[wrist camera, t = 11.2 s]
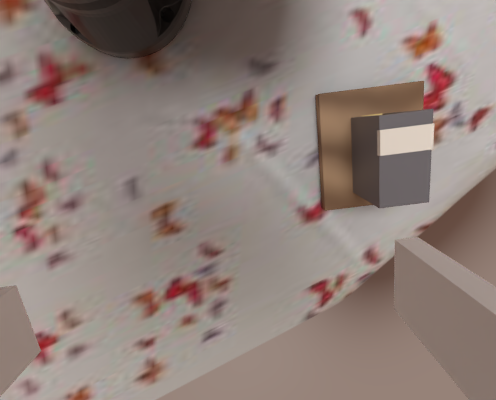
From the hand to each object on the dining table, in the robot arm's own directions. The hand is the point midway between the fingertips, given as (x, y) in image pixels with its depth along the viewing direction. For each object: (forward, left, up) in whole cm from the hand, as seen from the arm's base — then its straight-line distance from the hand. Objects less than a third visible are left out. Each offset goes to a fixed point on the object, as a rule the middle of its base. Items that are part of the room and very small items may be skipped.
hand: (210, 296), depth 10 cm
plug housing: (0, +17, -25) cm, 30 cm away
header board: (-1, +17, -27) cm, 32 cm away
